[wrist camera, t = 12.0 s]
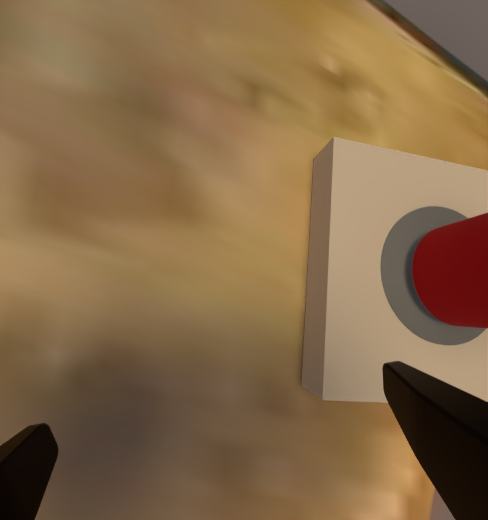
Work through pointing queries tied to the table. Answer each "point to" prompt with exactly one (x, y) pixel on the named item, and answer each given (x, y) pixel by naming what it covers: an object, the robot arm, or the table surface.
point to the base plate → (383, 271)
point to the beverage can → (454, 272)
